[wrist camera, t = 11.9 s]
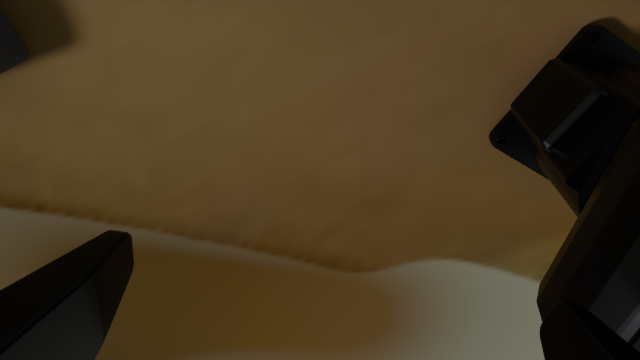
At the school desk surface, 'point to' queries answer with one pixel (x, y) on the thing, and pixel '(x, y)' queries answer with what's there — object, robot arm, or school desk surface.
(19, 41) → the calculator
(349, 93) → the school desk surface
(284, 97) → the school desk surface
